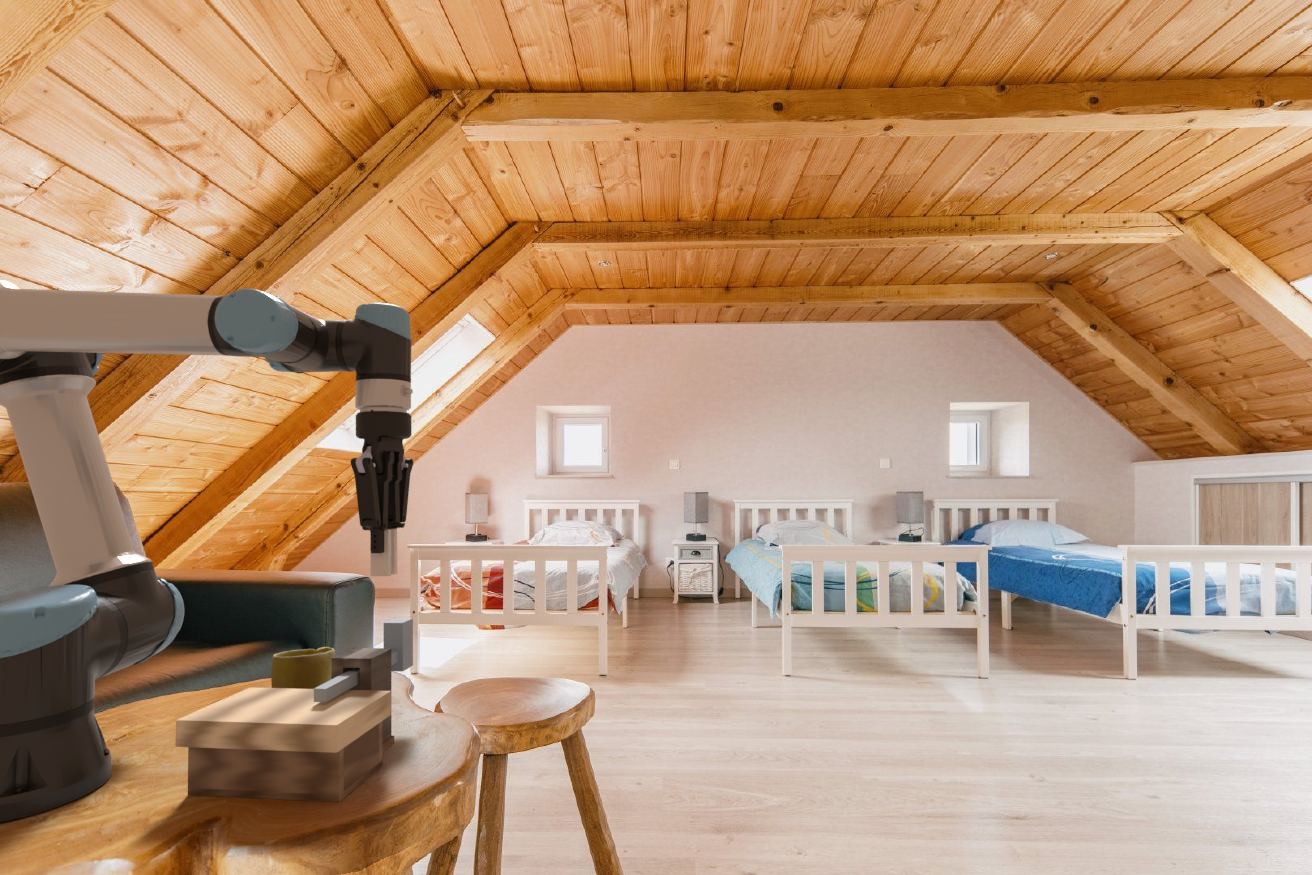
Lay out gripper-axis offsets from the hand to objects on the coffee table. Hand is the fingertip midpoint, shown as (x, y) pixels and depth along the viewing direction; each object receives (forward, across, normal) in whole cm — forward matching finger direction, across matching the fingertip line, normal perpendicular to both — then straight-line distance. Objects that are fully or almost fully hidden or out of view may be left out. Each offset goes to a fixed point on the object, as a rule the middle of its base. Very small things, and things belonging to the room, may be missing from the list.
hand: (384, 574), depth 95 cm
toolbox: (+22, -11, +4) cm, 25 cm away
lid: (+16, -14, +4) cm, 22 cm away
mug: (+23, +14, +21) cm, 34 cm away
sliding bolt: (+14, -4, 0) cm, 15 cm away
